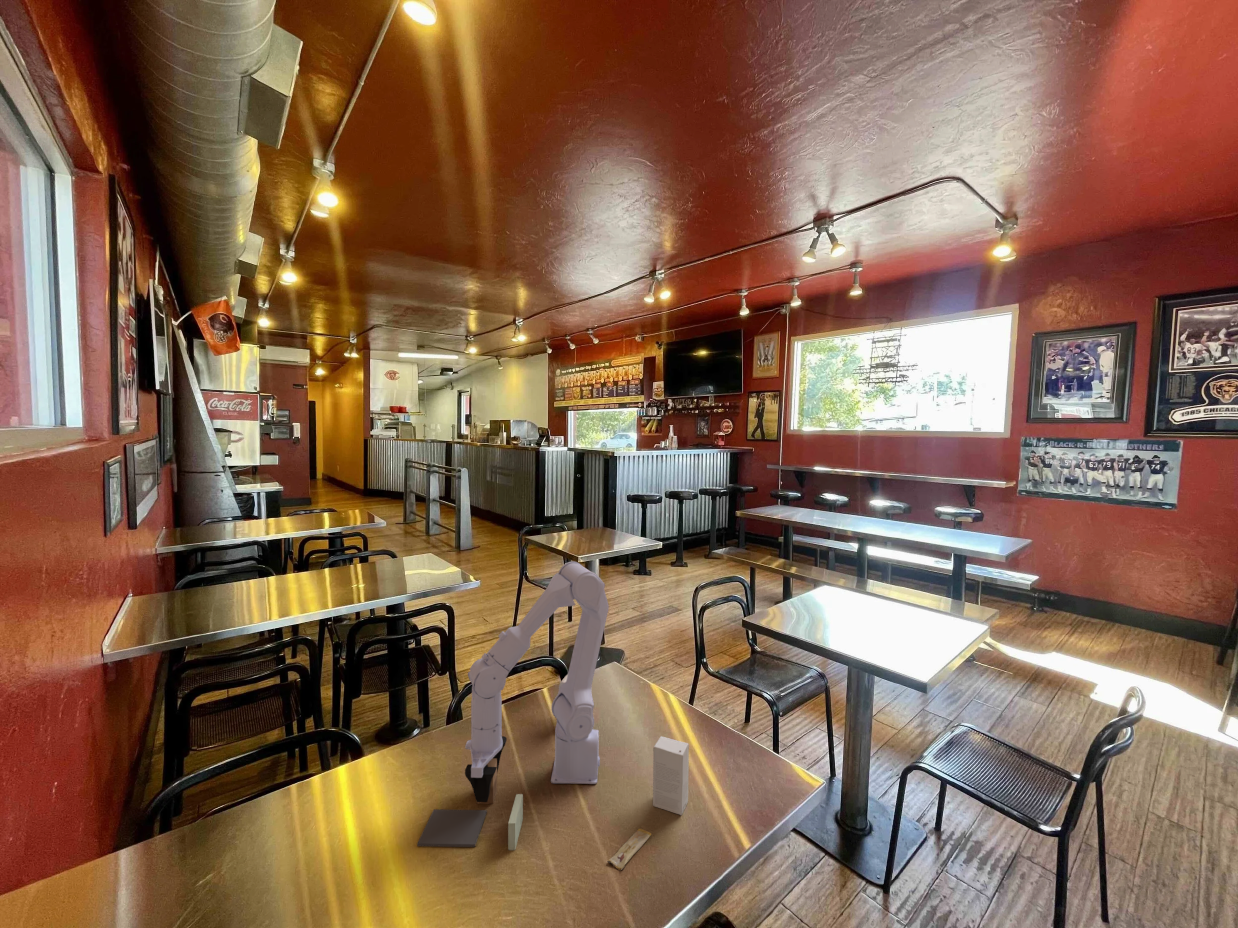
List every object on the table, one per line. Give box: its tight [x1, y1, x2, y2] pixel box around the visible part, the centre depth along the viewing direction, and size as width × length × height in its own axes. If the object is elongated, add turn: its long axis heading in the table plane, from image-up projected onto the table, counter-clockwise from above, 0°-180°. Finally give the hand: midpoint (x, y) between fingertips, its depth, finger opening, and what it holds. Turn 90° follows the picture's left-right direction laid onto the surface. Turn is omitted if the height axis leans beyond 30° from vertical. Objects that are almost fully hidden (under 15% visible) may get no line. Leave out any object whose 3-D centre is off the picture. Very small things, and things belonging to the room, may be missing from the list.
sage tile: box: [507, 793, 524, 851], centre depth 92 cm, size 1×7×5 cm, turn 0°
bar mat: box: [416, 809, 488, 848], centre depth 93 cm, size 10×8×1 cm
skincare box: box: [652, 735, 690, 816], centre depth 100 cm, size 6×4×12 cm
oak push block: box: [476, 758, 498, 805], centre depth 101 cm, size 3×3×7 cm
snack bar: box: [606, 827, 652, 871], centre depth 89 cm, size 10×2×3 cm
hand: (486, 788), depth 101 cm, fingers open, 6 cm apart
